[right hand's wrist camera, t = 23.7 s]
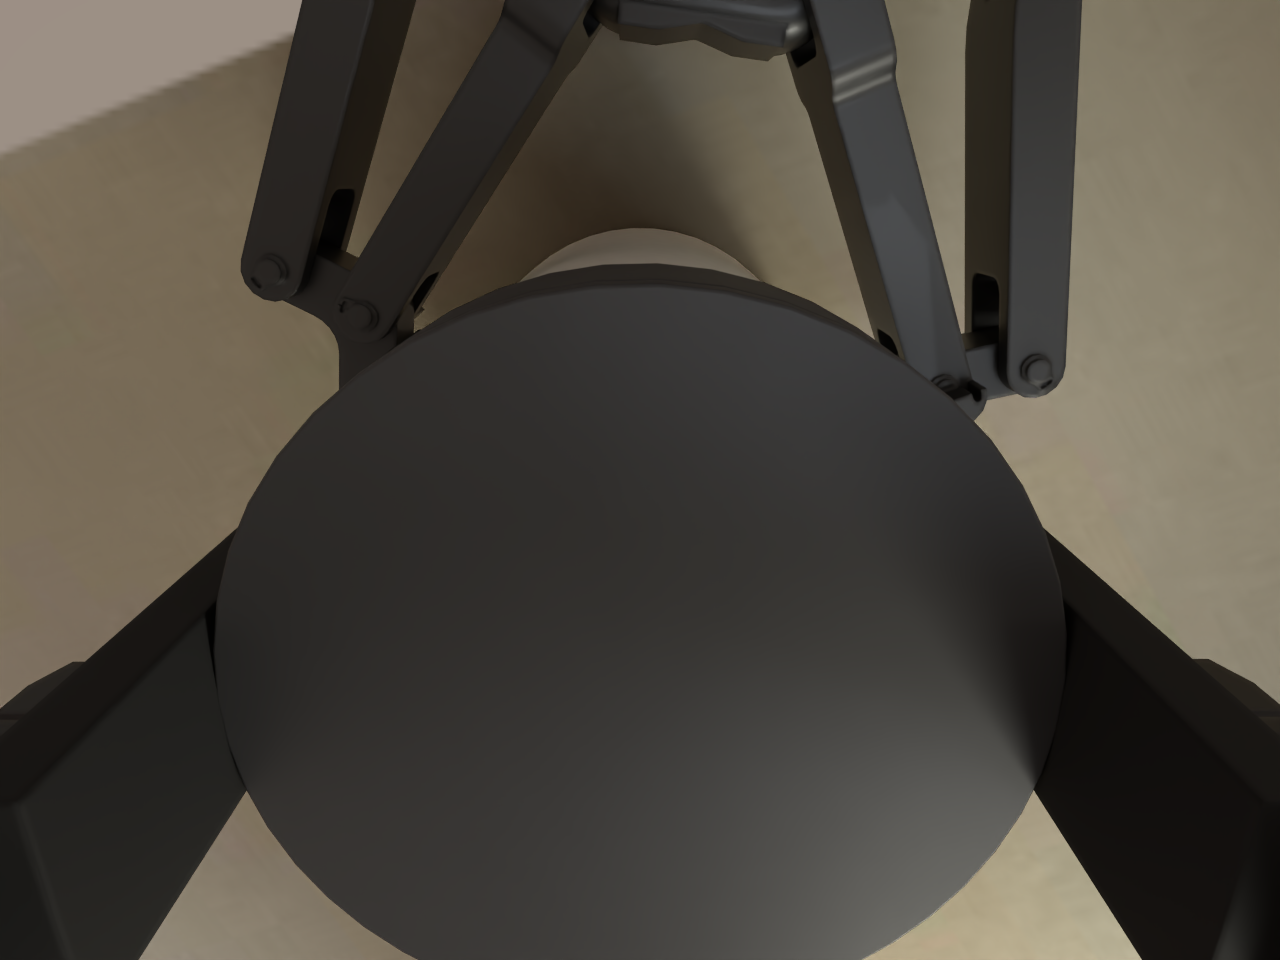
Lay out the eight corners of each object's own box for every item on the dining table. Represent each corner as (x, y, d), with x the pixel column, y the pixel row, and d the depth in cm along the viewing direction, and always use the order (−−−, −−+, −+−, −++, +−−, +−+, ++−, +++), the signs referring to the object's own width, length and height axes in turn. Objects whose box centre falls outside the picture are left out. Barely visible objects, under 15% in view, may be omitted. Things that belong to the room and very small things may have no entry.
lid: (825, 103, 10) (873, 84, 8) (1087, 747, 13) (1170, 853, 11) (133, 485, 11) (23, 552, 9) (516, 971, 15) (496, 1100, 13)
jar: (510, 194, 23) (307, 226, 9) (835, 267, 24) (1118, 403, 10) (464, 501, 27) (260, 879, 12) (751, 558, 27) (872, 977, 13)
